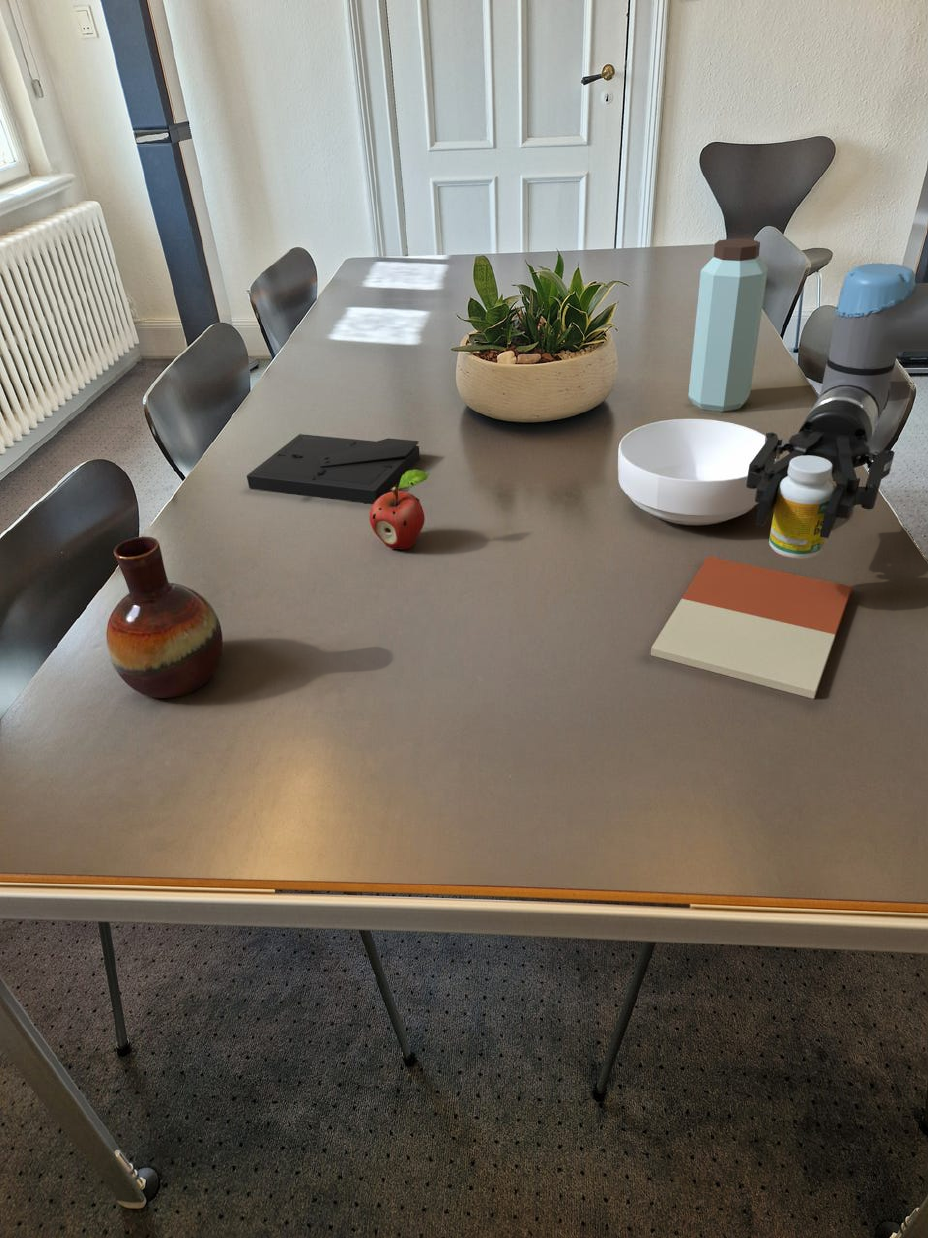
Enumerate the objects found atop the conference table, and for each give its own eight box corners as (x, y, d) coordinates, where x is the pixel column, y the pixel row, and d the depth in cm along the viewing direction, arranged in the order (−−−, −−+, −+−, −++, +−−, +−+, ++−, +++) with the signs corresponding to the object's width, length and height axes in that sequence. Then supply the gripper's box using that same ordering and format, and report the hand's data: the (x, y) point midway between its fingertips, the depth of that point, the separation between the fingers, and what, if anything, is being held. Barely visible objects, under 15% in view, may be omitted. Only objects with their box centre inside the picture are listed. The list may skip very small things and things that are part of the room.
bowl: (792, 497, 113) (803, 437, 109) (727, 560, 101) (736, 496, 96) (660, 463, 124) (665, 408, 119) (587, 517, 112) (589, 457, 107)
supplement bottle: (776, 530, 92) (790, 448, 87) (827, 541, 90) (845, 457, 84) (761, 553, 89) (775, 468, 83) (815, 565, 86) (833, 479, 81)
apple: (388, 564, 105) (379, 491, 99) (365, 542, 110) (355, 471, 104) (442, 546, 108) (436, 473, 102) (417, 525, 113) (410, 455, 107)
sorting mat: (850, 593, 94) (852, 586, 94) (813, 699, 80) (815, 691, 80) (707, 563, 101) (707, 555, 100) (650, 655, 87) (651, 647, 86)
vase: (176, 722, 82) (132, 589, 74) (98, 691, 87) (48, 562, 78) (252, 659, 90) (220, 531, 81) (176, 633, 95) (139, 510, 86)
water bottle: (712, 387, 148) (730, 233, 134) (761, 401, 142) (785, 240, 127) (675, 403, 143) (689, 244, 129) (724, 418, 137) (745, 252, 122)
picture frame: (420, 458, 130) (301, 446, 137) (418, 441, 129) (298, 429, 135) (376, 504, 118) (249, 488, 125) (374, 485, 117) (245, 470, 123)
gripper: (916, 473, 97) (887, 572, 80) (752, 448, 104) (695, 533, 88) (933, 410, 92) (906, 501, 76) (761, 389, 100) (703, 467, 84)
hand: (793, 518), depth 82 cm, fingers closed on supplement bottle, 5 cm apart
